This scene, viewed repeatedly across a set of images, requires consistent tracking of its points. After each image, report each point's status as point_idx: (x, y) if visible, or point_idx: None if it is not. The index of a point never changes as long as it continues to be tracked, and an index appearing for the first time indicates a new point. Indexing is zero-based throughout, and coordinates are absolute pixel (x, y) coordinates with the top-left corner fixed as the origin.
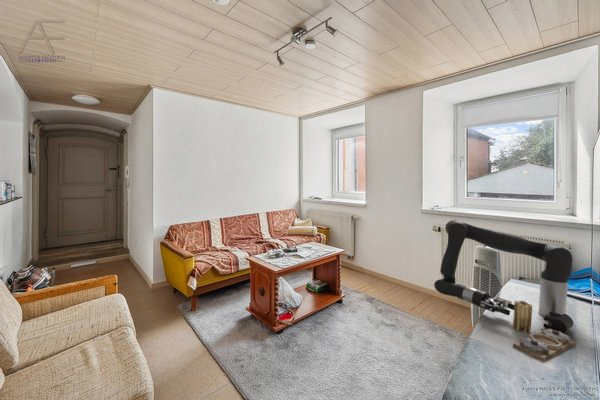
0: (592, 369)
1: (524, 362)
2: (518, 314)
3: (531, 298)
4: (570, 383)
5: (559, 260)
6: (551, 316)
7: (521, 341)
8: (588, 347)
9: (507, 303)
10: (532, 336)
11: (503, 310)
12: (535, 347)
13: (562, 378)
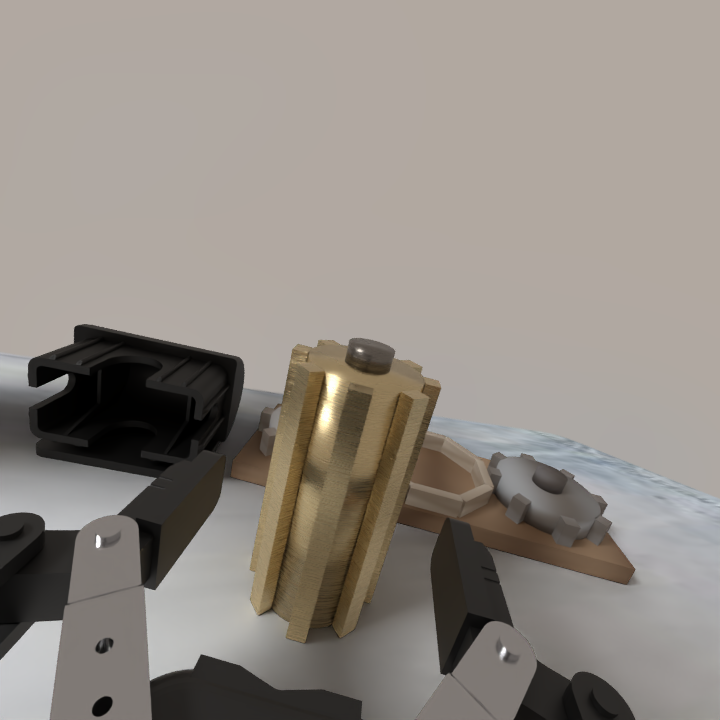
0: (436, 418)
1: (664, 536)
2: (410, 477)
3: None
4: (581, 456)
5: None
6: (175, 371)
7: (604, 521)
8: (267, 398)
9: (137, 565)
10: (468, 491)
11: (493, 576)
12: (572, 482)
13: (584, 465)
